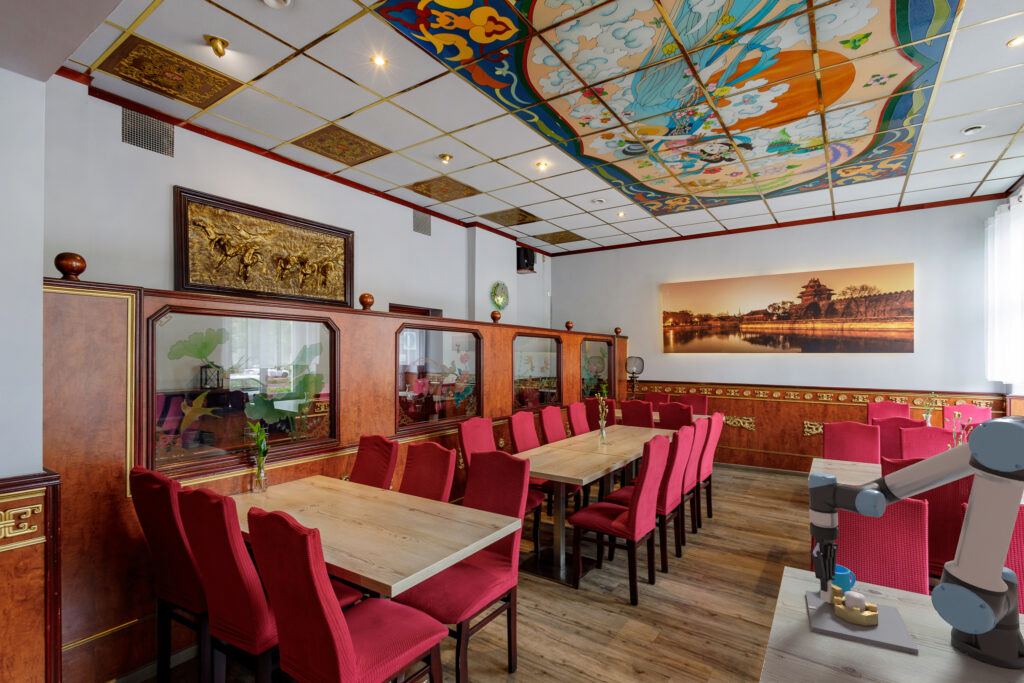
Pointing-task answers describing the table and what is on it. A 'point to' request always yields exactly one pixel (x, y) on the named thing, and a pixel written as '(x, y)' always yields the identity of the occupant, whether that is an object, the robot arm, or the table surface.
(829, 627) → the housing plate
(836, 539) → the robot arm
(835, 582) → the mug
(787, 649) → the table surface
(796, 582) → the table surface
